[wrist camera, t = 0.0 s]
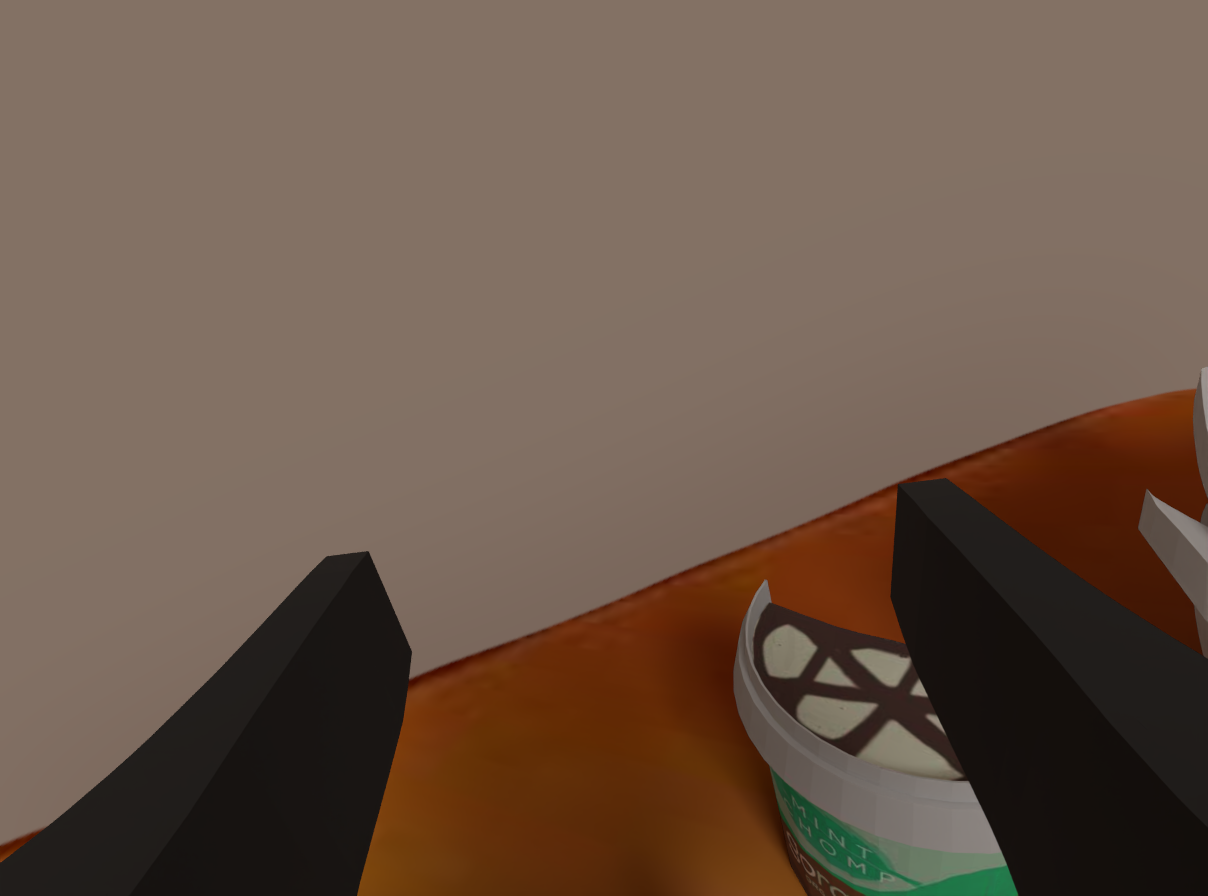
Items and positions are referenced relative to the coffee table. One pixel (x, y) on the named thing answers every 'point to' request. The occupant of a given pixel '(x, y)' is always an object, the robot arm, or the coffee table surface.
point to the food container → (859, 763)
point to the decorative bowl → (1185, 526)
